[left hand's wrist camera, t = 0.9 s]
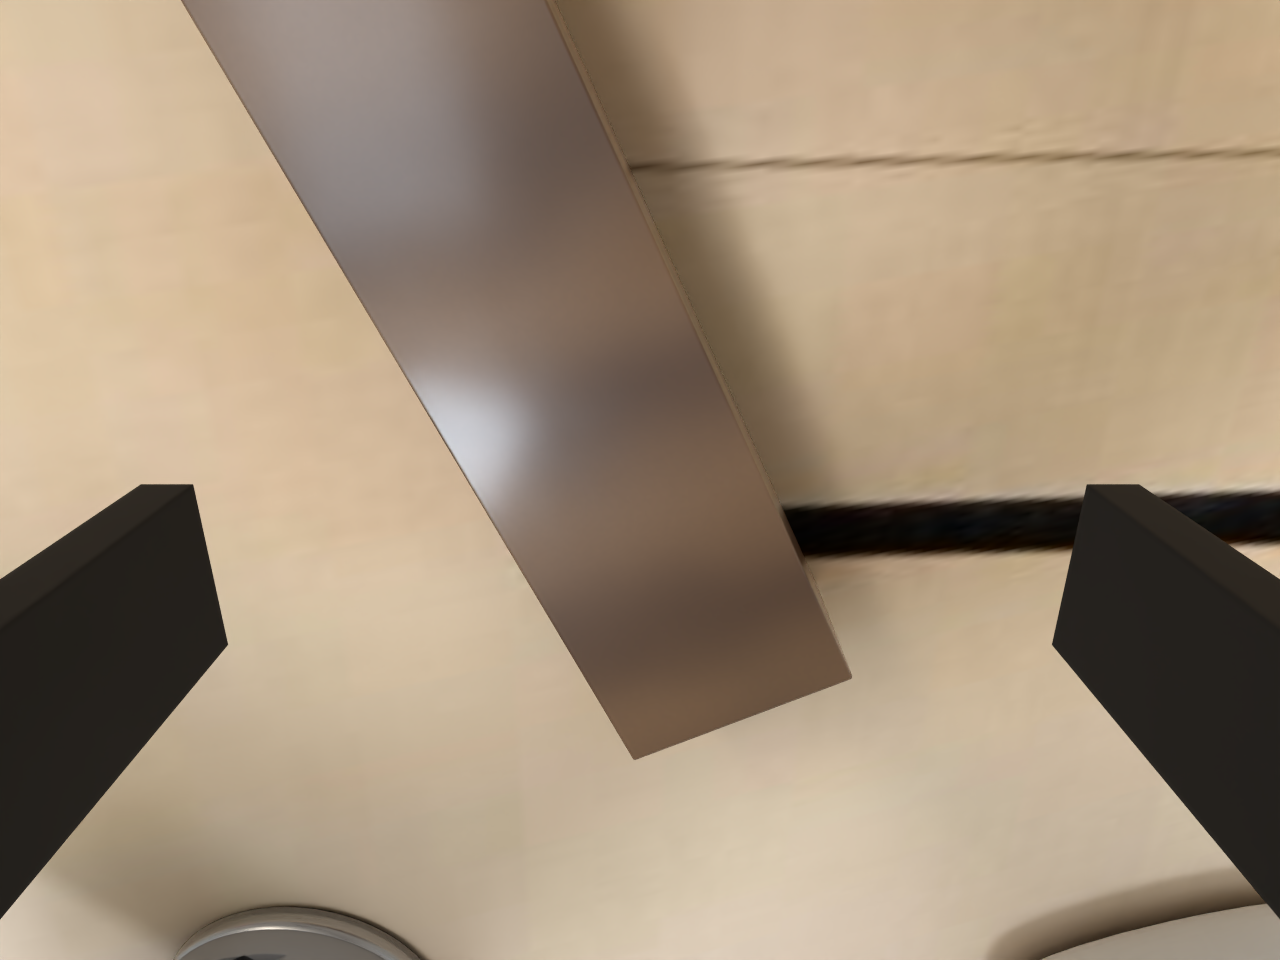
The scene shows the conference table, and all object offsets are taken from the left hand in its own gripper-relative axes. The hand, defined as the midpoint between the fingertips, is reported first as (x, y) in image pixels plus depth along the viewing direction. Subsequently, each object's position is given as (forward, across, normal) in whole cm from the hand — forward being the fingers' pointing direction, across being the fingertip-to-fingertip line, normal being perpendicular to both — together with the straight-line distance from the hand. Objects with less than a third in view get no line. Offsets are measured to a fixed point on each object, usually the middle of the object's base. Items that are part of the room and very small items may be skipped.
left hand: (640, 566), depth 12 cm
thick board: (+20, +9, -14) cm, 26 cm away
